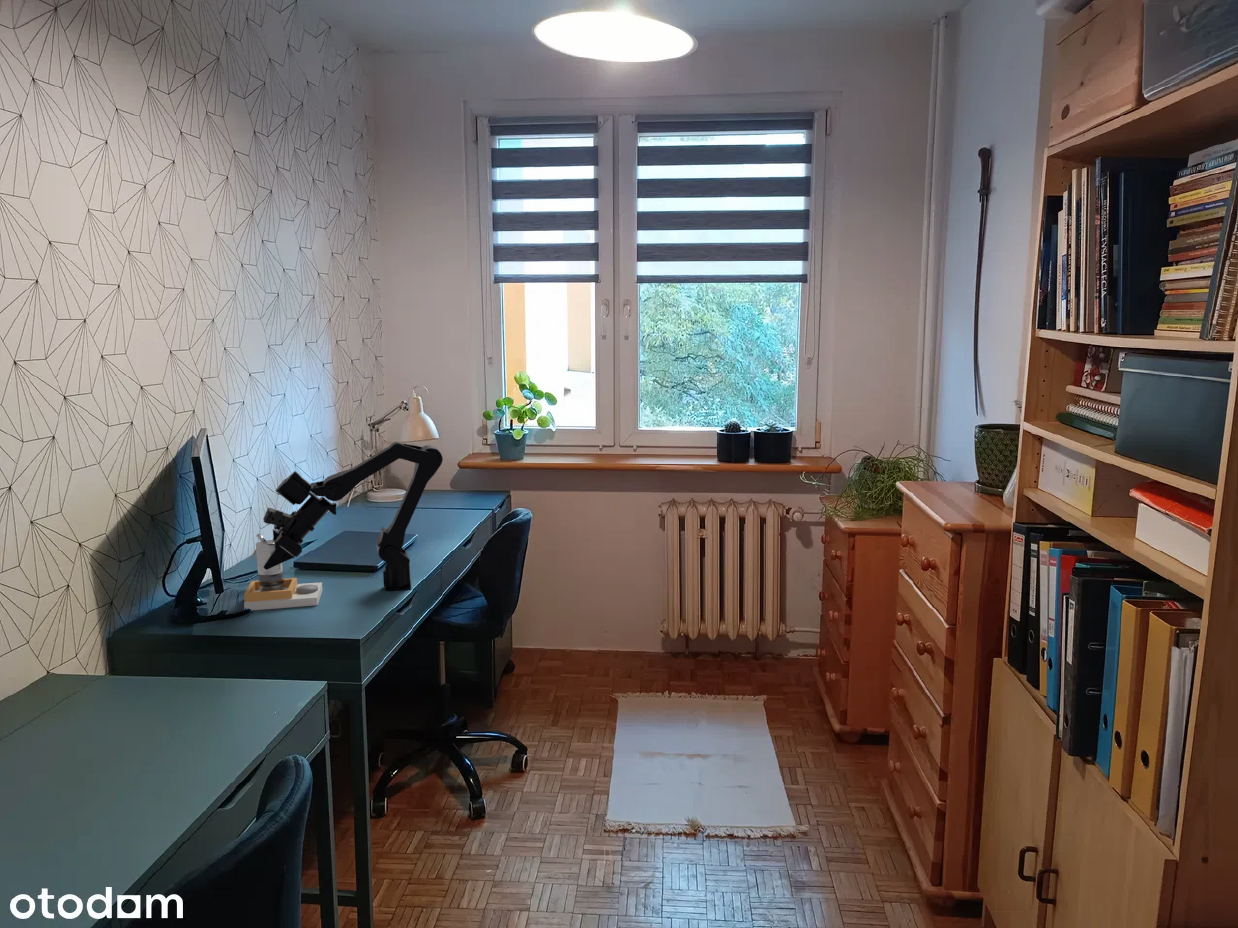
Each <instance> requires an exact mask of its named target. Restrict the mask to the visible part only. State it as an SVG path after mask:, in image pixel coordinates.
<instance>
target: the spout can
mask: <svg viewBox="0 0 1238 928" xmlns="http://www.w3.org/2000/svg"><path fill="white" fill-rule="evenodd" d="M256 537H257V538H258V539H259V541H258V542H256V543H255V549H256V553H255V554H256V562H257V563H256V564H257V565H256V566H257V579H258V580H257V581H259V590H260V592H262V591H276V590H284V579H285V578H284V570H283V563H280V564H278V565H276V566H274V567H272V568H270V569H268V570H266V569H265V568H264V565H265V563H266V562H267V560H268V559H269V557H270V556H271V554H272V553H273V551H274V550H275V541H276V540H273V539H267V540H266V538H264V536H263V535H262V534H261V533H260V532H259V533H257V534H256Z"/></svg>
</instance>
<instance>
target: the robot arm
mask: <svg viewBox="0 0 1238 928" xmlns="http://www.w3.org/2000/svg"><path fill="white" fill-rule="evenodd" d="M399 459H400V460H404V461H407V462H411V463H414V469H413V475H412V477H411V479H410V482H409V484H408V486H407V488H406V491H405V493H404V496H403V497H402V499H401V502H400V504H399V507H398V509H397V511H396V513H395V515H394V518H393V520H392V521H391V524H390V525H389V526H388V527H387V528H385V527H382V526H381V529H380V533H379V536H378V537H377V538H376V539H375V542H376V550H377V552H378V556H379V559H381V560H382V561H383V562H385V563H384V569H383V570H382V578H383V579H382V580H383V587H384V588H385V591H387V592H388V591H398V590H399V591H400V590H409V589H412V580H411V566H410V563H411V562H410V561H411V560H410V558H409V553H408V552H407V551H406V550H405V549H404V548H403V546H404V542H405V535H406V531H407V529H408V526H409V525H410V522H411V520H412V517H413V515H414V513H415V511H416V509H417V507H418V504H419V502H420V500H421V497H422V495H423V493H424V491H425V488H426V486H427V484H428V483H429V482H430V480H431V479H432V478H433V476H434V475H435V474H436V473H437V472H438V470H439V468H440V467H441V465H442V464H443V455H442V453H441V452H440V450H439V449H438V448H437V447H436V446H434V445H431V444H428V445H423V446H420V445H415V444H414V445H413V444H409V443H403V442H400V441H395V442H392V443H391V444H389V446H387V447H385V448H383V449H382V450H380V451H378V452H377V453H375V454H373V455H372V456H370V457H367V459H365V460H363V461H362V462H360V463H359V464H357V465H354V466H353V467H351V468H349V469H345V470H342V471H339V472H336V473H334V474H331V475H329V476H327V477H325V478H324V480H321V481H317V482H316V481H315V482H311V483H310V482H309V481H307V480H306V479H305V478H303V477H302V476H301V475H300V474H299V472H297V471H296V470H295V471H293V472H292V473H291V474H290V475H288V477H286V478H284V479H283V480H282V481H281V483H280V484H279V485H278V486H277V488H276V489H275V492H276V493H277V494H278V495H280V496H281V497H282V498H284V499H285V500H286V501H287V502H289V503H290V504H291V505H292V506H295V505H297V506H298V505H299V506H300V505H301V506H300V507H299V508H298V510H293V511H292V512H291V513H290V514H289V513H286V512H284V511H282V510H278V509H275V508H272V507H267V509H266V512H265V514H264V515H263V516H264V517H263V522H264V523H265V524H267V525H273V528H272V540H276V541H275V550H274V551H273V553H272V554H271V556H270V557H269V559H268V560H267V562H266V563H265V565H264V568H265V569H266V570H268V569H270V568H272V567H274V566H276V565H278V564H280V563H282V564H283V563H284V562H287V561H290V560H291V559H295V558H298V557H299V556H300V555H301V554H302V552H303V547H302V543H303V542H304V540H303V539H305V537H306V536H307V535H308V534H309V533H310V532H313V531H314V530H315V526H316V525H318V523H319V522H320V521H321V519H323V518H324V517H325V516H326V514H327V513H328V512H330V513H331V514H332V515H334V516H336V515H337V503H336V502H338V501H340V500H342V499H343V498H345V497H346V496H347V495H349V493H351V491H353V490H354V489H355V487H356V486H357V485H359V484H360V483H361V482H363V481H364V480H366V479H368V478H369V477H370V476H372V475H374V474H375V473H377V472H379V471H381V470H383V469H384V468H386V467H387V466H389V465H391V464H393V463H394V462H396V461H398V460H399ZM309 496H310V497H309ZM308 497H309V498H308ZM307 498H308V499H307ZM305 500H306V501H305ZM331 501H332V502H331ZM302 503H303V504H302Z"/></svg>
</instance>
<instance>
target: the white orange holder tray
mask: <svg viewBox="0 0 1238 928" xmlns="http://www.w3.org/2000/svg"><path fill="white" fill-rule="evenodd" d="M322 592H323V582H311V583H298V578H297V577H291V578H284V590H276V591H262V592H260V590H259V581H258V580H251V581H250V583H249V585H248V587H247V588H246V590H245V592H244V594H243V595H244V596H243V597H244V602H243V606H244V608H243V609H245V608H249V609H251V610H250V611H261V610H272V609H284V608H285V609H286V608H289V609H290V608H298V607H299V608H300V607H310V606H318V605H319V602H320V599H321V596H322Z"/></svg>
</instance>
